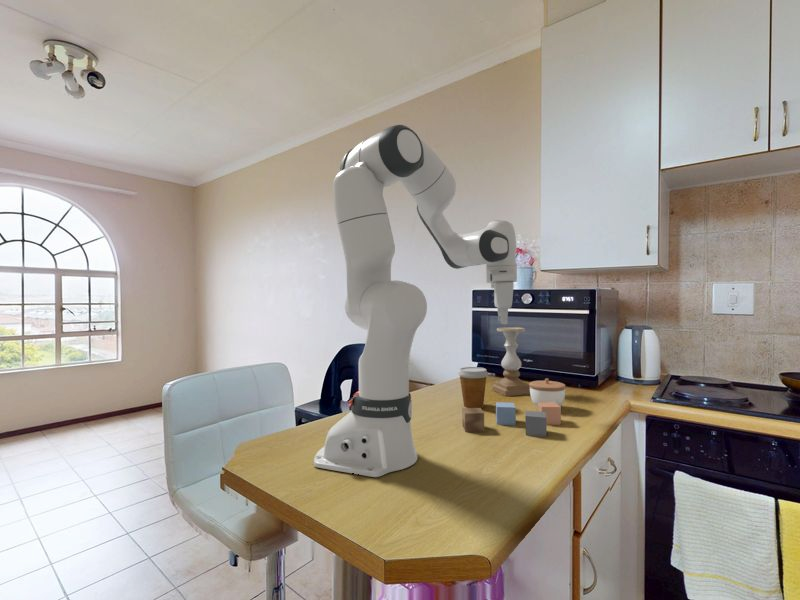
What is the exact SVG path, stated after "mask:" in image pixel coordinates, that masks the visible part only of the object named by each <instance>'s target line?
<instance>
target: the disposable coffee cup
mask: <svg viewBox="0 0 800 600" xmlns="http://www.w3.org/2000/svg"><path fill="white" fill-rule="evenodd" d="M488 375H489V373H488V371H487V369H486V368H484V367H480V366H479V367H477V366H465V367H461V368H459V370H458V376H459V378H460V387H461V394H462V401H463V403H462V404H463V406H464V408H481V409H482V408H483V407H484V403H485V394H486V392H485V391H486V384H487V377H488Z"/></svg>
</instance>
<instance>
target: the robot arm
mask: <svg viewBox="0 0 800 600" xmlns="http://www.w3.org/2000/svg"><path fill="white" fill-rule="evenodd" d="M339 169H340V170H339V172H338V173H337V174H336V175H335V177H334V179H333V182H332V194H333V197H332V198H333V204H334V205H333V206H334V213H335V217H336V222H337V228H338V231H339V236H340V240H341V245H342V250H343V254H344V259H345V269H346V293H347V295H346V299H345V303H344V310H345V315H346V316H347V318H348V319H349V321H351V323H353V324H354V325H356V326H358V328H360V329H363V330H366V331H367V335H366V340H365V345H364V348H363V351H362V354H360V356H359V358H358V391H356V392H355V393H354V394H353V395H352V396H353V397H351V398H350V400H349V401H348V403H349V404H348V407H349V408H350V410H351V411H350V412H348V413H347V414H346V415H344V417H342V418H340V420H339V421H338V422H336V423H335V424H334V425H333V426H331V428H330V429H329V430H328V432H327V434H326V438H325V442H324V446H322V447H321V448H320V449H319V450H318V451H317V452H316V454H315V455H314V457H313V458H314V459H313V465H314V467H315V468H318V469H319V468H320V469H324V470H325V469H326V470H331V471H337V472H341V473H342V472H343V473H347V474H352V473H354V474H353V475H358V474H359V475H360V476H365V477H370V478H371V477H372V478H379V477H382V476H384V475H387V474H389V473H392V472H397V471H400V470H401V471H402V470H404V469H407V468H409V467H411V466H412V465H414V464H416V462H417V460H418V454H417V451H416V450H417V449H416V448H415V447H416V446H415V443H414V442H415V441H414V437H413V432H412V431H413V430H412V425H411V420H412V418H413V415H412V414H413V406H412V405H413V403H412V402H413V401H412V395H411V393H410V356H411V350H412V346H413V342H414V337H415V335H416V332H417V330H418V328H419V327H420V326H421V324H423V322H424V320H425V318H426V316H427V312H428V303H427V298H426V297H425V296H426V295H425V294H424V292H423V291H422V290H421V289H420V288H419V287H418V286H416V285H414V284H412V283H410V282H407V281H403V280H397V279H396V280H392V263H393V257H394V255H395V252H396V245H395V240H394V236H393V231H392V227H391V221H390V217H389V214H388V210H387V205H386V201H385V199H384V193H383V192H384V188H385V187H389V186H391V185H393V184H395V183H397V182H401V184H402V185H403V186H404V188H405V189H406V190H407V192H408V193H409V194H410V195H411V196H412V198H413V200H414V202H415V203H416V211H417V214H418V216H419V218H420V220H421V222H422V223H423V225H424V226H425V228H426V229H427V231H428V233H429V234H430V235H431V236H432V239H433V240H434V241H435V243H436V245H437V247H438V248H439V249H440V252H441V255H442V257H443V259H444V261H445V262H446V264H447V265H448V266H449V267H451V268H453V269H456V270H457V269H459V270H460V269H462V268H468V267H474V266H475V267H476V266H481V265H486V267H485V268H486V284H490V289H494V290H493V291H494V292H493V297H494V298H493V301H494V302H493V303H494V307H495V308H496V309H497V315H498V316H497V318H498V319H497V320H498V322H499V323H500V324H502V325H507V324H508V316H509V315H508V314H509V309H511V308H512V305H513V301H514V300H513V296H514V283H517V282H518V266H517V261H516V255H517V239H516V238H517V237H516V231H515V228H514V227H515V226H514V225H513V224H512V223H511V222H509V221H506V220H493V221H490V222H489V223H487V226H485V227H484V228H482V229H480V230H476V231H472V232H467V233H458V232H455V231H454V230H453V229H452V227H451V225H450V224H449V222H448V220H447V218H446V217H445V216H444V214H443V212H444V211H445V210H446V209H447V208H448V207H449V206H450V204H451V203H452V201H453V199H454V197H455V195H456V190H457V183H456V180H455V177H454V176H453V173H452V171H450V169H449V168H448V166H447V165H446V164H445V163H444V161H443V160H442V159H441V158H440V157H439V155H438V154H437V153H436V152H435V151H434V150H433V149H432V147H430V146H429V145H428V144H427V143H426V142H425V141H423V139H421V138H420V137H419V136H418V134H417V132H415V130H413V129H411V128H410V127H408V126H406V125H403V124H396V125H391V126H388V127H385V129H383V130H382V131H381V132H378V133H376V134H374V135H372V136H370V137H366V138H365V139H364V140H363V141H361V142H359V143H358V144H357V145H356V146H354V147H353V148H351V149H349V151H347V153H346V154H345V155H344V157H342V160H341V162H340V167H339Z"/></svg>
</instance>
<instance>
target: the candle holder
mask: <svg viewBox="0 0 800 600" xmlns="http://www.w3.org/2000/svg"><path fill="white" fill-rule="evenodd" d="M525 330H526V328H525V327H517V326H516V327H514V326H513V327H512V326H511V327H510V326H509V327H507V326H505V327H497V328H496V331H497V332H500V333H501V332H502V333H503V336H504V337H505V343H504V344H503V347H504V348H505V350H506V353H505V355H504V357H503V358H502V360H501V361H500V362H501V363H500V365H501V367H502V369H504V370H503V373H502V375H503V376H504V377H503V378H501V380H497V381H494V384H492V385H491V386H492V387H491V389H492V391H493V392H495V393H497V394H499V395H502V396H504V397H515V396H516V397H517V396H528V395H530V387H529V383H526V382H524V381H523V380H522V379H520V378H519V377H520V376H521V372H520V371H519V369H520V368H521V367H522V360H521V359H520V358H519V356H518V355H517V352H516V351H517V348H518V347H519V344H518V343H517V337H518V336H519V333H521V332H525Z"/></svg>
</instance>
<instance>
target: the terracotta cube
mask: <svg viewBox="0 0 800 600" xmlns="http://www.w3.org/2000/svg"><path fill="white" fill-rule="evenodd" d="M537 405H538V408H537V411H538V412H546V426H547V425H548V426H549V425H550V426H551V425H553V426H554V425H555V426H557V425H558V426H561V425H562V411H561V410H562V407H561V406H559V405H558V404H557V403H556V402H537Z"/></svg>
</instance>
